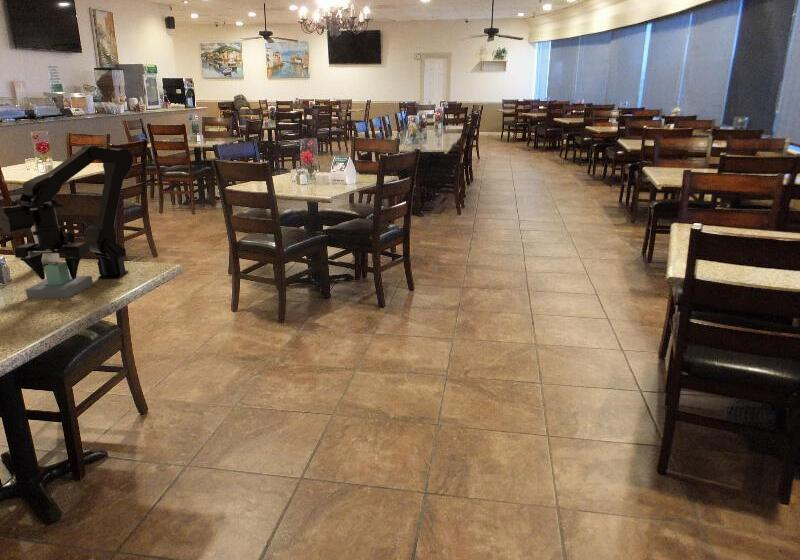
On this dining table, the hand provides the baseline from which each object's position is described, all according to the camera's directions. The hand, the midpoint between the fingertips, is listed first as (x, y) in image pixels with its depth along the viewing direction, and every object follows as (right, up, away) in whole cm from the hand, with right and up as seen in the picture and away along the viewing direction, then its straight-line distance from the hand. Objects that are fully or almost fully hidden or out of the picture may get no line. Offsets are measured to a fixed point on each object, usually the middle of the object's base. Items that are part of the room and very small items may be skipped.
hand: (58, 279), depth 165 cm
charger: (0, -3, +1) cm, 4 cm away
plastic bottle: (-20, +5, +29) cm, 36 cm away
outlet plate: (0, -3, +1) cm, 4 cm away
